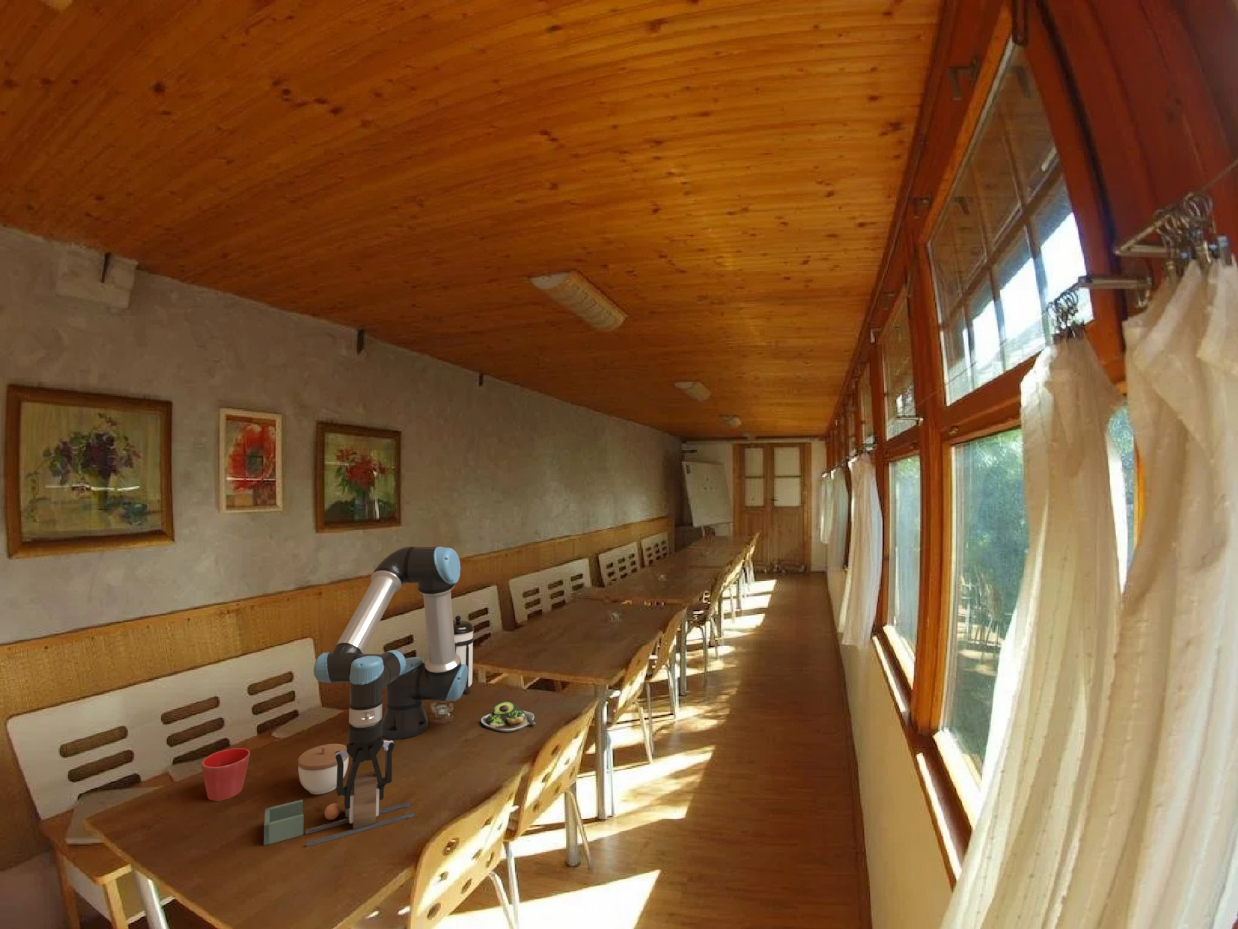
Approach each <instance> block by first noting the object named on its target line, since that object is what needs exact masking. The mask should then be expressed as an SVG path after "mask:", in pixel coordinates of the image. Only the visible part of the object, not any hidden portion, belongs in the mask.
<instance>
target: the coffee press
mask: <svg viewBox="0 0 1238 929" xmlns="http://www.w3.org/2000/svg"><path fill="white" fill-rule="evenodd" d="M454 619H455V620H453V628H454V641H455V654H457V655H459V656H460V659H461V665H462V664H464V665H467V667H468V676H467V682H466V686H465V689H464V692H463V693H465V695H469V694H470V693H471V690H470V687H471V686H472V685H473V664H474V662H473V661H474V660H473V659H474V658H473V657H474V656H473V655H474V654H473V651H474V646H473V645H474V630H475V627H474V625H473V623H472V622H470V621H468V620H462V617H461V616H460V615H456V616H455V618H454Z"/></svg>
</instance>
